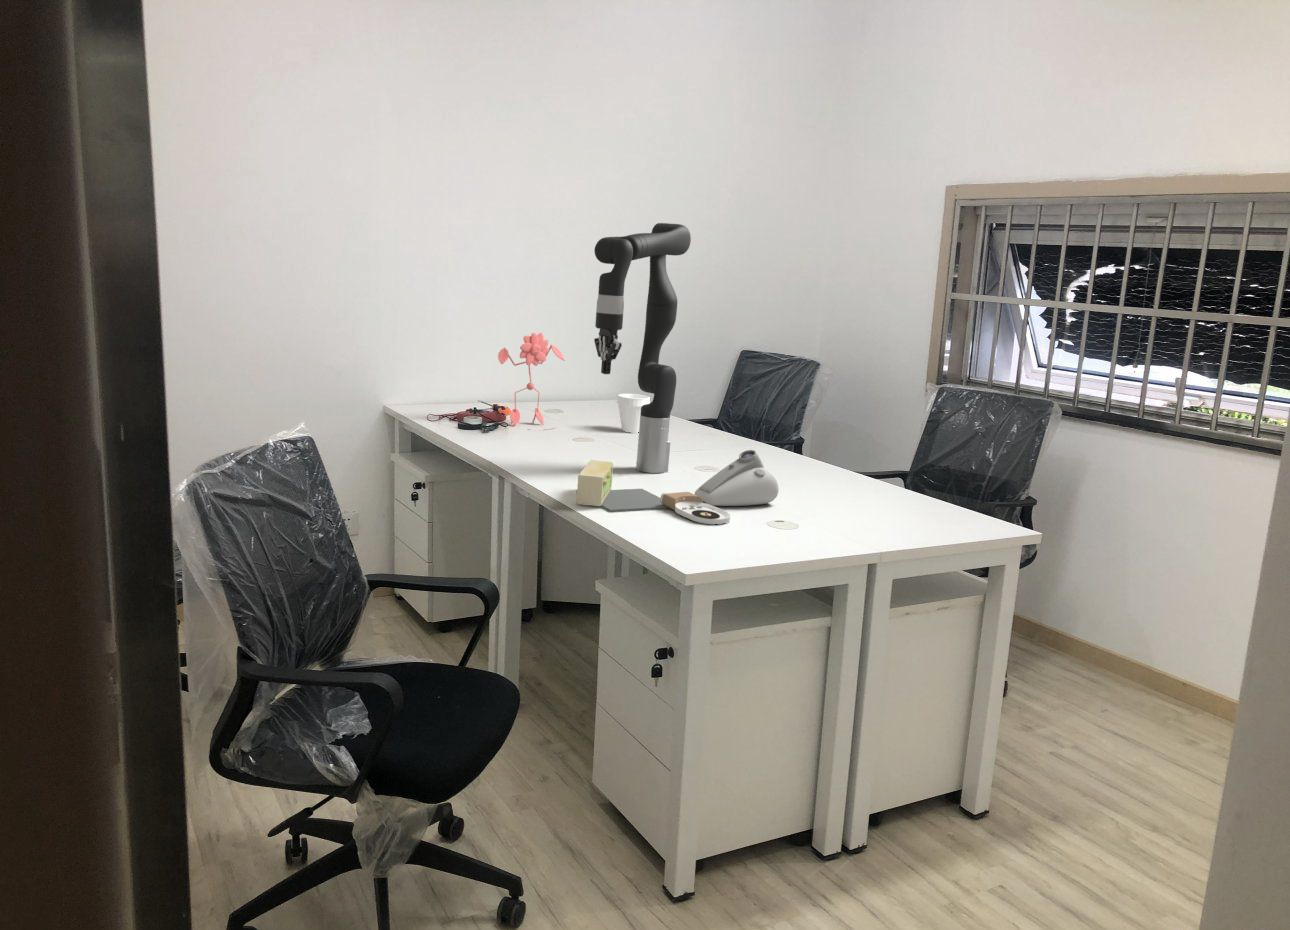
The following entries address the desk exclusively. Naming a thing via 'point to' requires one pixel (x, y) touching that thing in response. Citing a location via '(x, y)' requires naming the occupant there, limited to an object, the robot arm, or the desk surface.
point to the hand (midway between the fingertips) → (605, 373)
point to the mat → (631, 501)
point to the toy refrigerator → (594, 483)
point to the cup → (631, 410)
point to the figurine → (533, 353)
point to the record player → (694, 508)
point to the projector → (740, 483)
